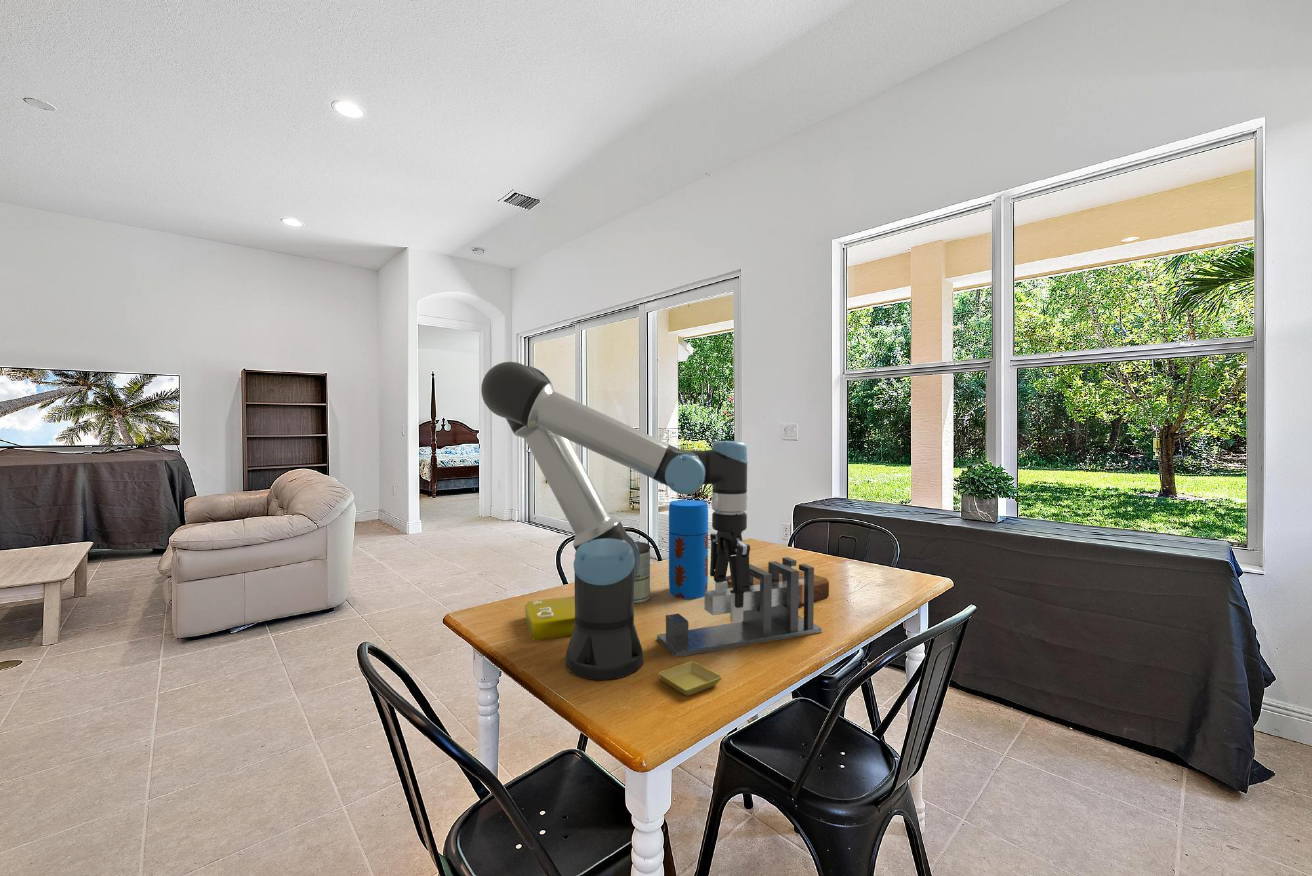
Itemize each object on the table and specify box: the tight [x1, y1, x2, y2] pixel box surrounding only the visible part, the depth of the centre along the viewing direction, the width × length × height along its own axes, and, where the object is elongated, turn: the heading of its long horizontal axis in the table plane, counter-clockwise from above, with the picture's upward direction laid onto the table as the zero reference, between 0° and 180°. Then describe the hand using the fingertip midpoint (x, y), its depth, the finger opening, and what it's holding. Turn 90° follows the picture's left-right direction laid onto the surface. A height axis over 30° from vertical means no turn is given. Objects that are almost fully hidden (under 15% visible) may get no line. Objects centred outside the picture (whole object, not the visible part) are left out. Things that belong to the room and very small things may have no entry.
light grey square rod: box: [703, 579, 804, 616], centre depth 125 cm, size 26×4×4 cm, turn 112°
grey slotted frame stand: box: [656, 556, 823, 658], centre depth 123 cm, size 36×10×15 cm, turn 112°
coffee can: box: [634, 541, 651, 604], centre depth 149 cm, size 10×10×14 cm
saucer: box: [657, 660, 723, 697], centre depth 101 cm, size 9×9×2 cm
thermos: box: [668, 499, 709, 600], centre depth 153 cm, size 11×11×25 cm
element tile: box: [524, 595, 575, 640], centre depth 130 cm, size 15×15×5 cm
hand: (728, 615), depth 122 cm, fingers open, 6 cm apart
